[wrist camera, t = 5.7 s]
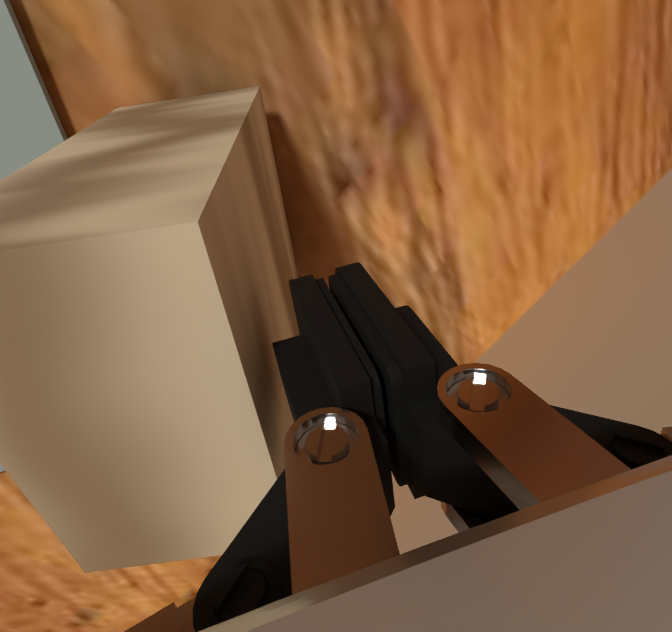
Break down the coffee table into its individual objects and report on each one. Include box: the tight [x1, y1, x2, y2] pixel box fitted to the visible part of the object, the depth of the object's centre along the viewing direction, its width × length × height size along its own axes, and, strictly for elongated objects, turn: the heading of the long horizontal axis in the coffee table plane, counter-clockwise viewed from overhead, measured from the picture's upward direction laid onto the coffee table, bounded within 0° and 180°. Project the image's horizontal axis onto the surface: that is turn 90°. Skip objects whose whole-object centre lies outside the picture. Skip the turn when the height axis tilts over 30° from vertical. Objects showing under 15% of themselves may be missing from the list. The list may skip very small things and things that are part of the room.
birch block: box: [0, 86, 299, 573], centre depth 14 cm, size 5×8×12 cm, turn 8°
